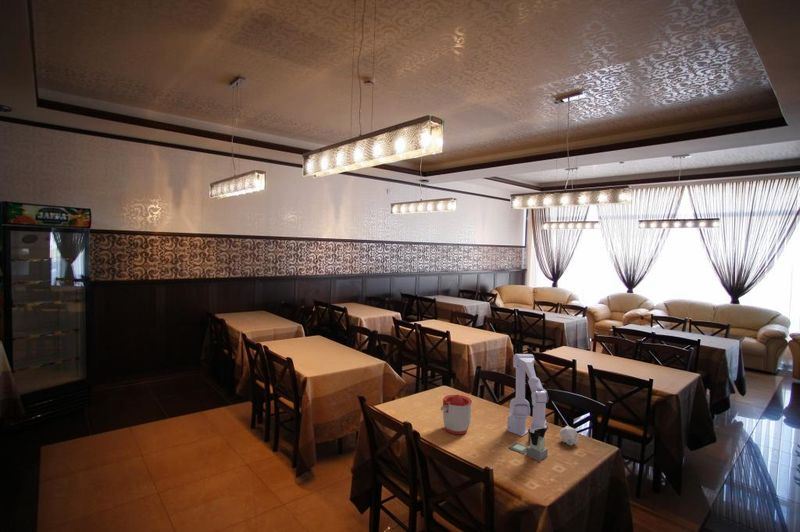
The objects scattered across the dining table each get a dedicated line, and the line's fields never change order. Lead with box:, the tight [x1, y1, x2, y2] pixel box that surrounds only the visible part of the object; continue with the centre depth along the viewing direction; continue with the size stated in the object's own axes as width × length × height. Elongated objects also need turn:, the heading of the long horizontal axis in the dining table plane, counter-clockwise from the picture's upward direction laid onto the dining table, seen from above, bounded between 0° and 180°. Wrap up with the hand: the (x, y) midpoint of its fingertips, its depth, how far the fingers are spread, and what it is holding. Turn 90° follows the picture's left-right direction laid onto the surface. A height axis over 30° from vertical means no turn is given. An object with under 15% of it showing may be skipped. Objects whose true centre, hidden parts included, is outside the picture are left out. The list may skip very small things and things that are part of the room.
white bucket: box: [440, 394, 473, 435], centre depth 214 cm, size 16×17×20 cm
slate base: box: [526, 445, 549, 462], centre depth 191 cm, size 7×7×4 cm
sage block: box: [529, 436, 546, 452], centre depth 190 cm, size 5×5×5 cm
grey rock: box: [559, 425, 580, 446], centre depth 205 cm, size 8×9×10 cm
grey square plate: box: [508, 441, 528, 455], centre depth 197 cm, size 8×8×1 cm
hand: (537, 442), depth 191 cm, fingers open, 6 cm apart
